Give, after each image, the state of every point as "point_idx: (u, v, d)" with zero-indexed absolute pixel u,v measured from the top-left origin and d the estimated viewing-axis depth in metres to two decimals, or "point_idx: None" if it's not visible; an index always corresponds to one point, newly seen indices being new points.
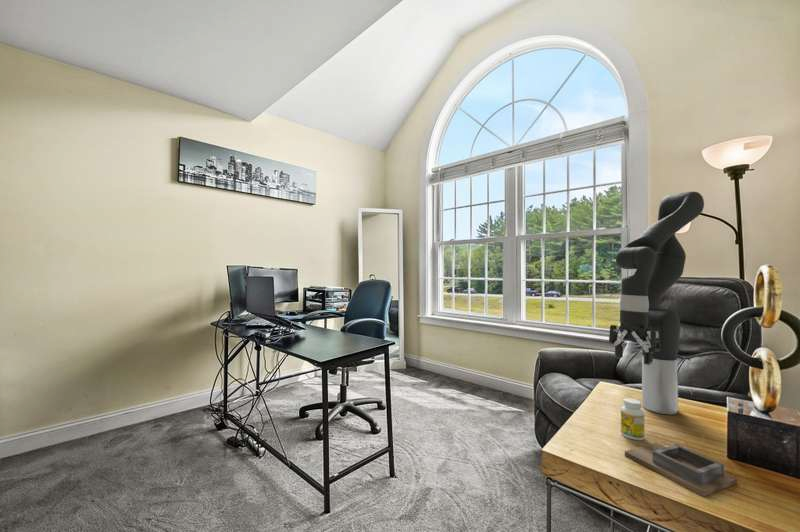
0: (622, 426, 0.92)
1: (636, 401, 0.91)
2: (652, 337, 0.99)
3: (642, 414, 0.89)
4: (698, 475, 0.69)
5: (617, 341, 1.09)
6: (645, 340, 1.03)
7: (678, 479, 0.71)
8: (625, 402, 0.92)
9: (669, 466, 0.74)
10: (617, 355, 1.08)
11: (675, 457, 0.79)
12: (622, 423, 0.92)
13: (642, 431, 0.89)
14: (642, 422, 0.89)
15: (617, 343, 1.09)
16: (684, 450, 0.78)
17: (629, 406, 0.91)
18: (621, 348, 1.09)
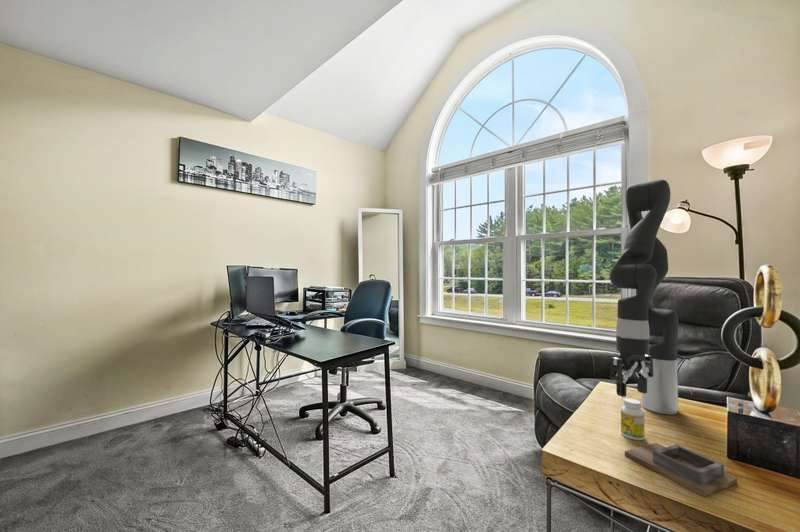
0: (622, 426, 0.92)
1: (636, 401, 0.91)
2: (651, 362, 0.93)
3: (642, 414, 0.89)
4: (698, 475, 0.69)
5: (626, 377, 0.89)
6: None
7: (678, 479, 0.71)
8: (625, 402, 0.92)
9: (669, 466, 0.74)
10: (625, 394, 0.89)
11: (675, 457, 0.79)
12: (622, 423, 0.92)
13: (642, 431, 0.89)
14: (642, 422, 0.89)
15: (626, 380, 0.89)
16: (684, 450, 0.78)
17: (629, 406, 0.91)
18: None
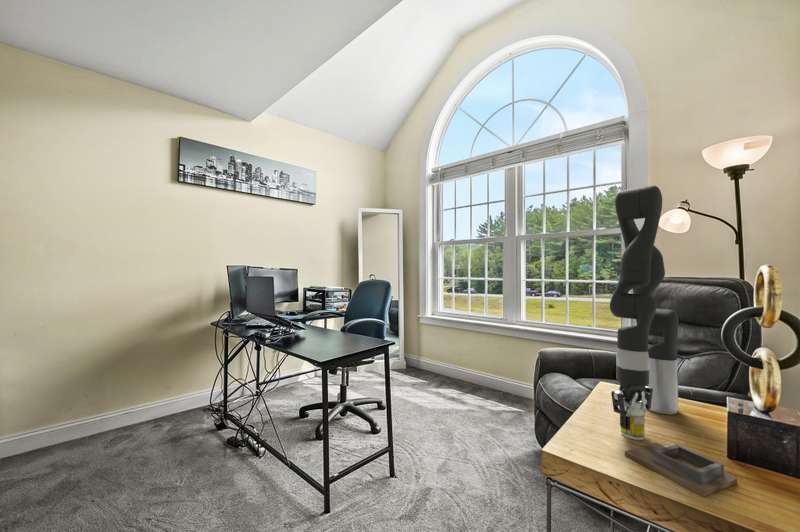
0: None
1: None
2: (650, 394, 0.93)
3: (642, 414, 0.89)
4: (698, 475, 0.69)
5: (629, 410, 0.89)
6: None
7: (678, 479, 0.71)
8: (625, 402, 0.92)
9: (669, 466, 0.74)
10: (629, 427, 0.90)
11: (675, 457, 0.79)
12: None
13: (642, 431, 0.89)
14: (642, 422, 0.89)
15: (629, 413, 0.89)
16: (684, 450, 0.78)
17: None
18: None
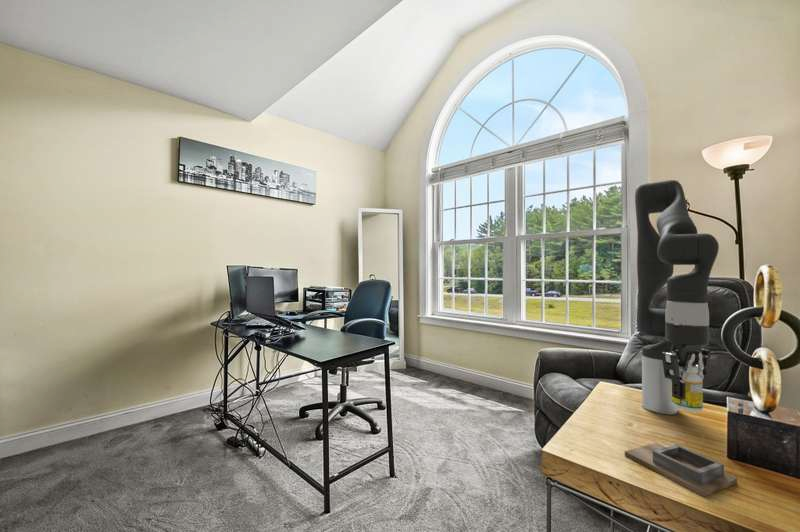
0: None
1: None
2: (708, 358, 0.76)
3: (700, 380, 0.73)
4: (698, 475, 0.69)
5: (684, 375, 0.73)
6: None
7: (678, 479, 0.71)
8: None
9: (669, 466, 0.74)
10: (684, 396, 0.73)
11: (675, 457, 0.79)
12: None
13: (700, 401, 0.72)
14: (700, 390, 0.73)
15: (684, 379, 0.73)
16: (684, 450, 0.78)
17: None
18: None
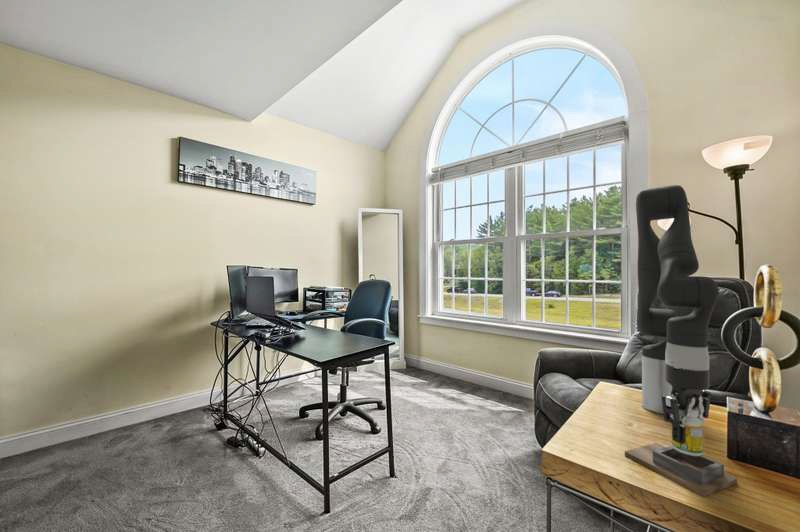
0: None
1: None
2: (708, 400, 0.76)
3: (700, 424, 0.72)
4: (698, 475, 0.69)
5: (684, 419, 0.72)
6: None
7: (678, 479, 0.71)
8: None
9: (669, 466, 0.74)
10: (684, 440, 0.73)
11: (675, 457, 0.79)
12: None
13: (701, 445, 0.72)
14: (701, 434, 0.72)
15: (685, 423, 0.73)
16: None
17: None
18: None
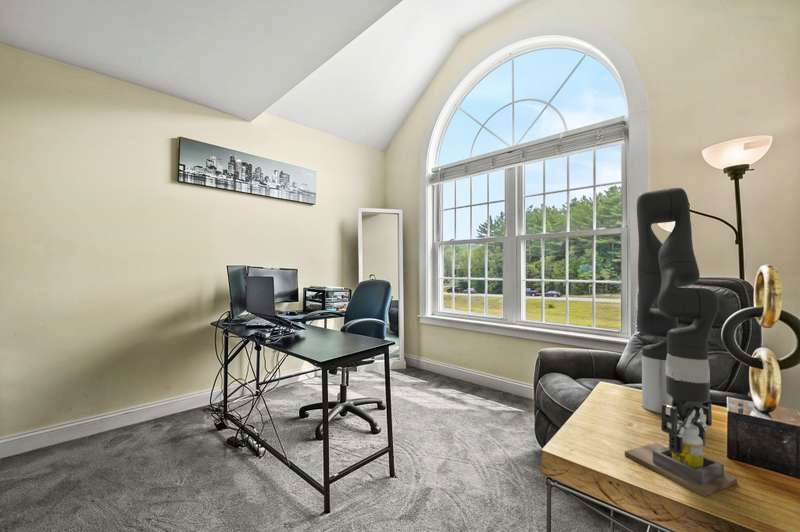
0: (674, 456, 0.75)
1: (692, 426, 0.75)
2: (709, 408, 0.76)
3: (701, 443, 0.72)
4: (698, 475, 0.69)
5: (681, 430, 0.72)
6: None
7: (678, 479, 0.71)
8: (678, 427, 0.75)
9: (669, 466, 0.74)
10: (681, 451, 0.72)
11: None
12: (674, 452, 0.75)
13: (701, 464, 0.72)
14: (701, 452, 0.72)
15: (682, 433, 0.72)
16: None
17: (684, 432, 0.74)
18: None
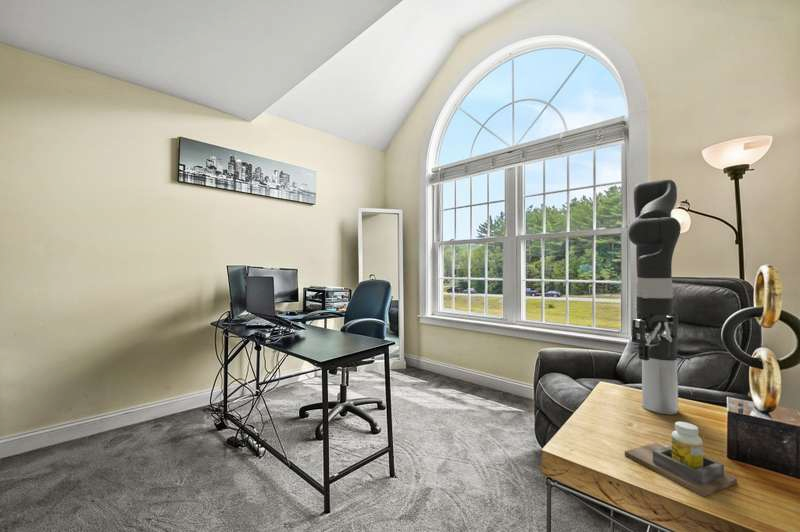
0: (674, 456, 0.75)
1: (691, 426, 0.75)
2: (673, 323, 0.87)
3: (700, 442, 0.72)
4: (698, 475, 0.69)
5: (649, 339, 0.83)
6: None
7: (678, 479, 0.71)
8: (678, 427, 0.75)
9: (669, 466, 0.74)
10: (648, 357, 0.83)
11: None
12: (674, 453, 0.75)
13: (701, 464, 0.72)
14: (701, 452, 0.72)
15: (649, 342, 0.83)
16: None
17: (683, 432, 0.74)
18: None
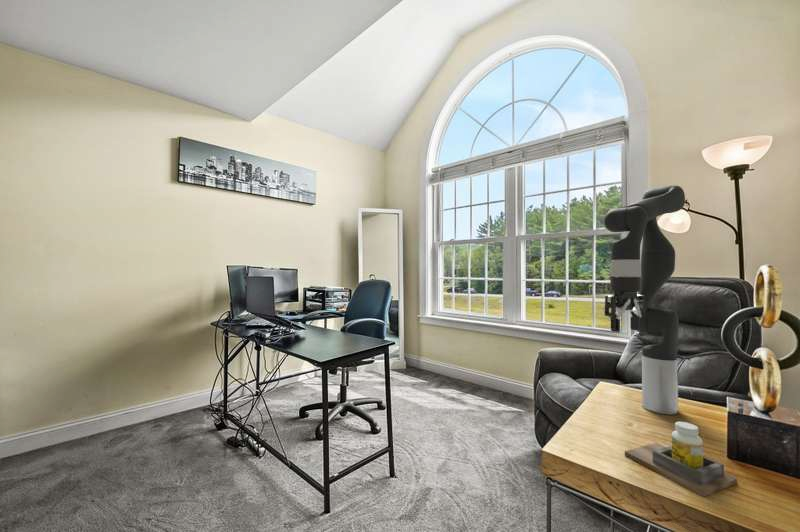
0: (674, 456, 0.75)
1: (692, 426, 0.75)
2: (643, 301, 0.98)
3: (700, 442, 0.72)
4: (698, 475, 0.69)
5: (619, 313, 0.94)
6: None
7: (678, 479, 0.71)
8: (678, 427, 0.75)
9: (669, 466, 0.74)
10: (619, 329, 0.94)
11: None
12: (674, 453, 0.75)
13: (701, 464, 0.72)
14: (701, 452, 0.72)
15: (619, 315, 0.94)
16: None
17: (684, 432, 0.74)
18: None
